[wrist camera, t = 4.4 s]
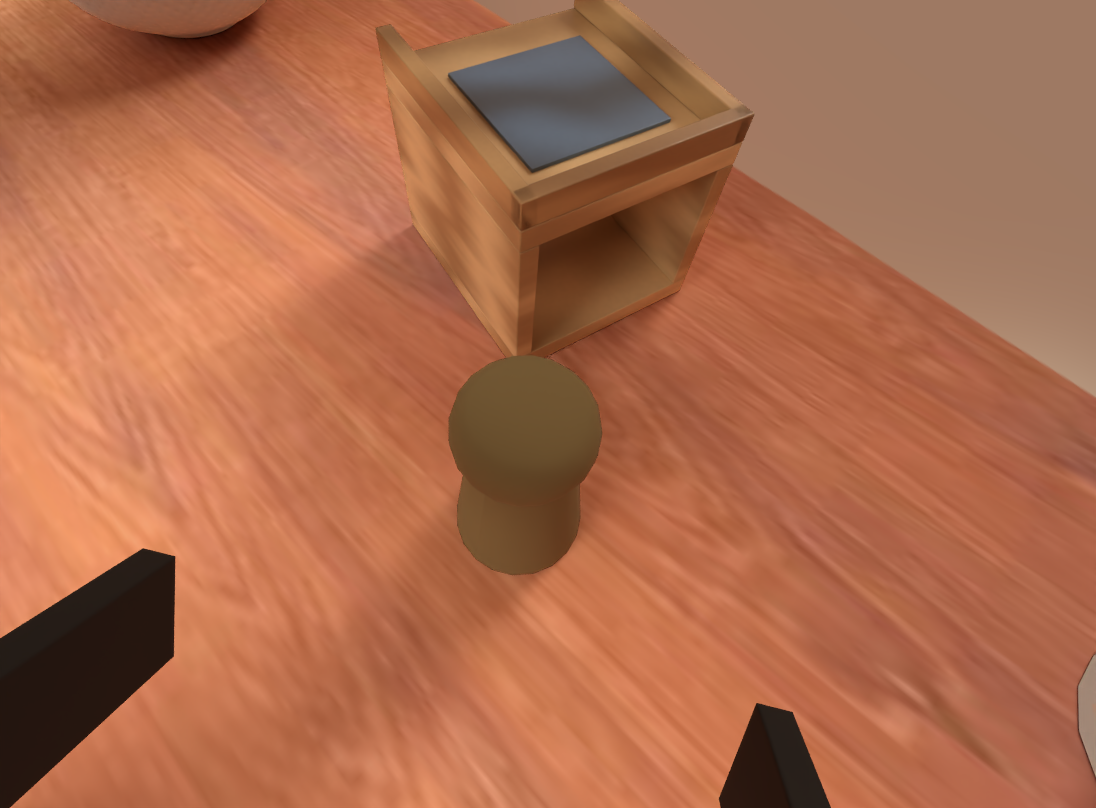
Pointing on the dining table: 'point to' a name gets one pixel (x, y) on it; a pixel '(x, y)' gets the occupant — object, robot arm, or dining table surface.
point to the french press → (1088, 711)
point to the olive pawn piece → (522, 461)
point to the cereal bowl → (171, 15)
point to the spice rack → (560, 167)
